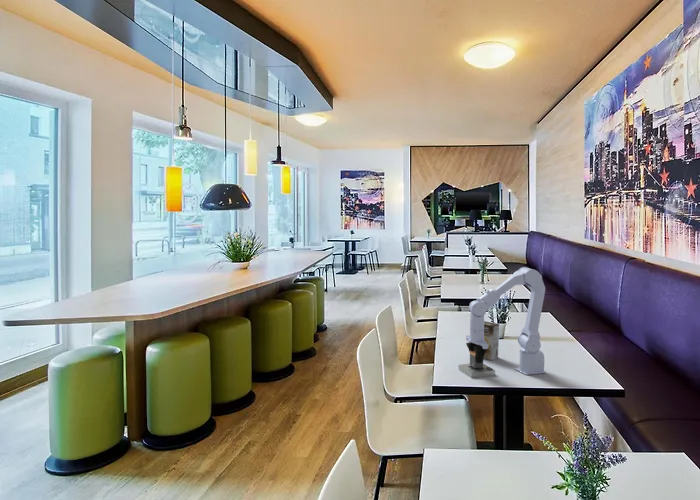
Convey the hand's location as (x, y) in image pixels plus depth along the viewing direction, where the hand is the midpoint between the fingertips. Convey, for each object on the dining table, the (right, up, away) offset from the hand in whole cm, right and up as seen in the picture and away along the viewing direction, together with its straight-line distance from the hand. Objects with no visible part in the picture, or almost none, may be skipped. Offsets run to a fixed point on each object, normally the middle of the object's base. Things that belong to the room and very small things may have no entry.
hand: (476, 361), depth 203 cm
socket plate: (0, -5, 0) cm, 5 cm away
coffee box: (+10, -3, +21) cm, 24 cm away
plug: (0, -2, 0) cm, 2 cm away
